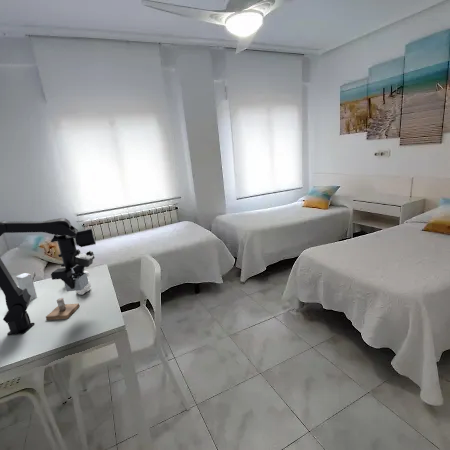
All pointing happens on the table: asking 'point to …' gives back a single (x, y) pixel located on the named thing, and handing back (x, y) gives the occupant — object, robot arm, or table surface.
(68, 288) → the grey square sleeve
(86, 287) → the bust
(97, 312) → the table surface
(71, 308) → the post stand
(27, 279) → the skincare box
